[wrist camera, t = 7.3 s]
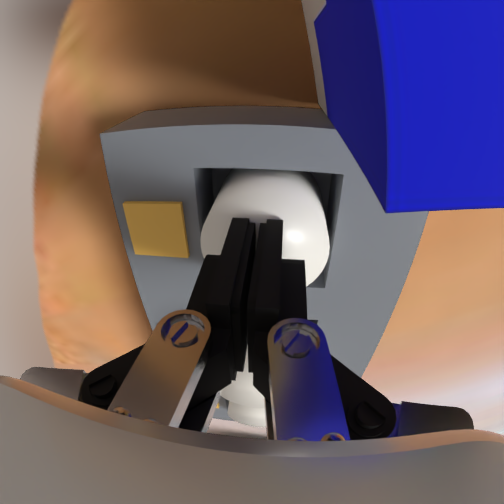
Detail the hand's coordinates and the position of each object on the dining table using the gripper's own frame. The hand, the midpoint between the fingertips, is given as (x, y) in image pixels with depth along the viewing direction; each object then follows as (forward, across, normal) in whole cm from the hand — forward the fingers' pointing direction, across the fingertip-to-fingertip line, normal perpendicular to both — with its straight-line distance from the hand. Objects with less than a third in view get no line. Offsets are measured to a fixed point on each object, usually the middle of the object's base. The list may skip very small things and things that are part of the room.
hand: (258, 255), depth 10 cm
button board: (+5, 0, +7) cm, 8 cm away
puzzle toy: (+5, -6, -10) cm, 13 cm away
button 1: (+4, 0, 0) cm, 4 cm away
